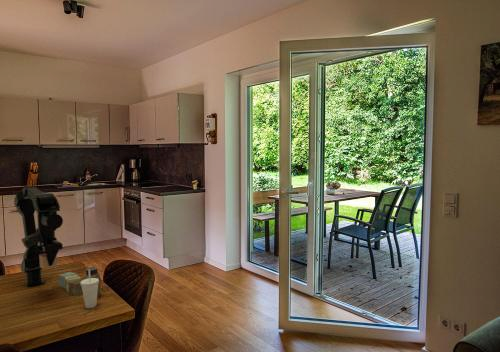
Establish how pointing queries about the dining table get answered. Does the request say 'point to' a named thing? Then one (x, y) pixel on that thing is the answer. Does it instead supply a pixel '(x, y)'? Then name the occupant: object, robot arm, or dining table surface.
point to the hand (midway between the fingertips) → (48, 264)
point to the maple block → (70, 278)
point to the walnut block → (75, 287)
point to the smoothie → (90, 291)
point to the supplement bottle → (93, 275)
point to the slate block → (62, 278)
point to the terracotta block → (46, 262)
